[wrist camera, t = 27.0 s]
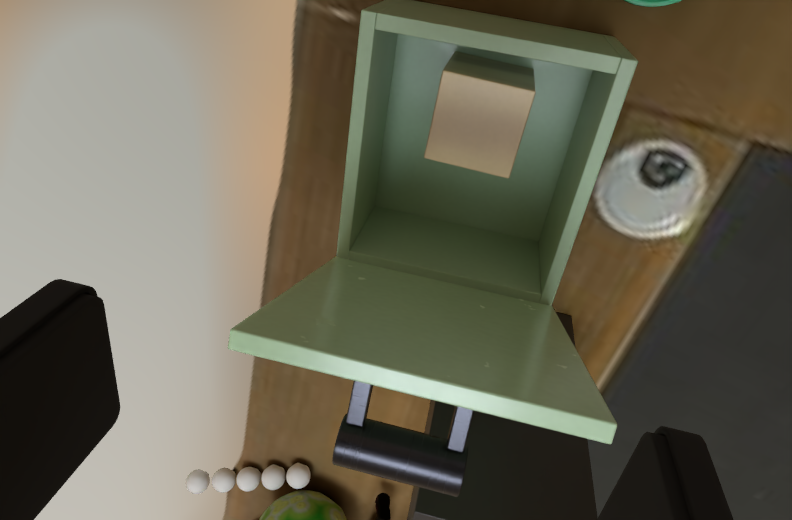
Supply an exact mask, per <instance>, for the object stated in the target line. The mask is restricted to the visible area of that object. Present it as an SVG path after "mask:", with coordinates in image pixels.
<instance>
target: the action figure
mask: <svg viewBox="0 0 792 520" xmlns="http://www.w3.org/2000/svg"><path fill="white" fill-rule="evenodd" d="M375 503H376V505H375V506H376V512H377V517H376V520H390V509H389V505H390V497H389V496H388V495H387V494H386V493H380V494H379V495H378V496H377V498H376V501H375Z"/></svg>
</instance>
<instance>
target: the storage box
mask: <svg viewBox="0 0 792 520" xmlns="http://www.w3.org/2000/svg"><path fill="white" fill-rule="evenodd" d="M455 51H457V52H462V53H466V54H470V55H475V56H479V57H483V58H488V59H492V60H497V61H501V62H505V63H510V64H514V65H518V66H523V67H527V68H531V69H534V78H535V90H536V94H535V97H534V100H533V103H532V107H531V110H530V113H529V116H528V120H527V123H526V126H525V129H524V133H523V136H522V139H521V142H520V145H519V149H518V152H517V155H516V158H515V162H514V165H513V168H512V171H511V175H510V177H509V178H504V177H499V176H495V175H491V174H487V173H483V172H479V171H475V170H471V169H467V168H463V167H459V166H455V165H450V164H446V163H442V162H438V161H434V160H430V159H426V158H424V153H425V149H426V144H427V140H428V135H429V130H430V126H431V121H432V117H433V112H434V107H435V103H436V98H437V94H438V89H439V84H440V80H441V75H442V71H443V69H444V68H445V66H446V64H447V63H448V61H449V60H450V58H451V56H452V55H453V53H454V52H455ZM637 63H638V60H637V59H636V58H635V57H634V56H633V55H632V54H631V53H630V52H629V51H628V50H627V49H626V48H625V47H624V46H623V45H622V44H621V43H620V42H619V41H618V40H617V39H616V38H615V37H614V36H608V35H603V34H597V33H591V32H586V31H580V30H575V29H569V28H564V27H558V26H553V25H547V24H542V23H536V22H531V21H525V20H520V19H514V18H508V17H503V16H497V15H492V14H486V13H481V12H475V11H470V10H464V9H459V8H453V7H448V6H442V5H437V4H431V3H425V2H420V1H414V0H384V1H382V2H379V3H377V4H375V5H372V6H370V7H368V8H365V9H363V10H362V11H361V19H360V28H359V38H358V48H357V58H356V68H355V78H354V87H353V97H352V107H351V117H350V127H349V137H348V147H347V156H346V166H345V176H344V186H343V196H342V206H341V215H340V225H339V235H338V245H337V255H336V257H339V258H343V259H347V260H352V261H356V262H360V263H365V264H369V265H374V266H378V267H382V268H387V269H391V270H395V271H400V272H404V273H409V274H413V275H417V276H422V277H426V278H431V279H435V280H439V281H444V282H448V283H452V284H457V285H461V286H466V287H470V288H474V289H479V290H483V291H487V292H492V293H496V294H501V295H505V296H509V297H514V298H518V299H522V300H527V301H531V302H536V303H540V304H544V305H549V306H552V303H553V300H554V297H555V295H556V292H557V289H558V286H559V283H560V280H561V278H562V275H563V272H564V269H565V266H566V264H567V261H568V258H569V255H570V252H571V249H572V247H573V244H574V241H575V238H576V235H577V233H578V230H579V227H580V224H581V221H582V218H583V216H584V213H585V210H586V207H587V204H588V202H589V199H590V196H591V193H592V190H593V187H594V185H595V182H596V179H597V176H598V173H599V171H600V168H601V165H602V162H603V159H604V156H605V154H606V151H607V148H608V145H609V142H610V140H611V137H612V134H613V131H614V128H615V125H616V123H617V120H618V117H619V114H620V111H621V109H622V106H623V103H624V100H625V97H626V94H627V92H628V89H629V86H630V83H631V80H632V78H633V75H634V72H635V69H636V66H637Z"/></svg>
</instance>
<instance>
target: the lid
mask: <svg viewBox="0 0 792 520" xmlns="http://www.w3.org/2000/svg"><path fill="white" fill-rule="evenodd" d="M228 349H230V350H234V351H238V352H242V353H246V354H250V355H254V356H258V357H262V358H266V359H270V360H274V361H278V362H282V363H286V364H290V365H294V366H298V367H302V368H306V369H310V370H314V371H318V372H322V373H326V374H330V375H334V376H338V377H342V378H346V379H350V380H354V383H353V388H352V393H351V398H350V403H349V408H348V413H347V414H346V415H345V416H344V418H343V420H342V423H341V426H340V429H339V432H338V436H337V439H336V443H335V448H334V453H333V464H334V465H337V466H341V467H345V468H349V469H352V470H356V471H360V472H364V473H367V474H371V475H375V476H379V477H382V478H386V479H390V480H394V481H398V482H401V483H405V484H409V485H413V486H416V487H420V488H424V489H428V490H432V491H435V492H439V493H443V494H447V495H450V496H454V497H458V495H459V493H460V491H461V487H462V483H463V479H464V474H465V469H466V463H467V457H468V445H467V444H466V442H467V438H468V434H469V430H470V426H471V422H472V418H473V414H474V411H478V412H482V413H486V414H490V415H494V416H498V417H502V418H506V419H510V420H514V421H518V422H522V423H526V424H530V425H534V426H538V427H542V428H546V429H550V430H554V431H558V432H563V433H567V434H571V435H575V436H579V437H583V438H587V439H591V440H595V441H599V442H603V443H607V444H611V443H612V441H613V438H614V434H615V431H616V428H617V423H616V421H615V419H614V417H613V415H612V414H611V412H610V410H609V408H608V406H607V405H606V403H605V401H604V399H603V397H602V395H601V394H600V392H599V390H598V388H597V386H596V385H595V383H594V381H593V379H592V377H591V376H590V374H589V372H588V370H587V368H586V366H585V365H584V363H583V361H582V359H581V357H580V356H579V354H578V352H577V350H576V348H575V346H574V345H573V343H572V341H571V339H570V337H569V336H568V334H567V332H566V330H565V328H564V327H563V325H562V323H561V321H560V319H559V317H558V316H557V314H556V312H555V310H554V308H553V307H552V306H549V305H544V304H540V303H536V302H531V301H527V300H522V299H518V298H514V297H509V296H505V295H501V294H496V293H492V292H487V291H483V290H479V289H474V288H470V287H466V286H461V285H457V284H452V283H448V282H444V281H439V280H435V279H431V278H426V277H422V276H417V275H413V274H409V273H404V272H400V271H395V270H391V269H387V268H382V267H378V266H374V265H369V264H365V263H360V262H356V261H352V260H347V259H343V258H339V257H334V258H333V259H331V260H330V261H328V262H327V263H326V264H324V265H323V266H321V267H320V268H318V269H317V270H316V271H314V272H313V273H311V274H310V275H308V276H307V277H305V278H304V279H303V280H301V281H300V282H298V283H297V284H295V285H294V286H292V287H291V288H290V289H288V290H287V291H285V292H284V293H282V294H281V295H279V296H278V297H277V298H275V299H274V300H272V301H271V302H269V303H268V304H266V305H265V306H264V307H262V308H261V309H259V310H258V311H257V312H255V313H253V314H252V315H251V316H249V317H248V318H246V319H245V320H243V321H242V322H241V323H239V324H238V325H236V326H235V327H233V328H232V329H231V330H230V337H229V344H228ZM373 385H374V386H378V387H382V388H386V389H390V390H394V391H398V392H402V393H406V394H410V395H414V396H418V397H422V398H426V399H430V400H434V401H438V402H442V403H446V404H450V405H454V406H455V409H454V413H453V417H452V421H451V425H450V429H449V434H448V438H447V439H445V438H441V437H437V436H434V435H430V434H426V433H422V432H418V431H414V430H410V429H406V428H402V427H398V426H394V425H390V424H387V423H383V422H379V421H375V420H371V419H367V418H366V417H367V412H368V407H369V402H370V398H371V393H372V388H373Z"/></svg>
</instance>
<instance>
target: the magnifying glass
mask: <svg viewBox="0 0 792 520" xmlns="http://www.w3.org/2000/svg"><path fill="white" fill-rule="evenodd" d="M624 1H626V2H628V3H631V4H634V5H638V6H646V7H658V6H665V5H669V4H673V3H676V2H679V1H682V0H624Z"/></svg>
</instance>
